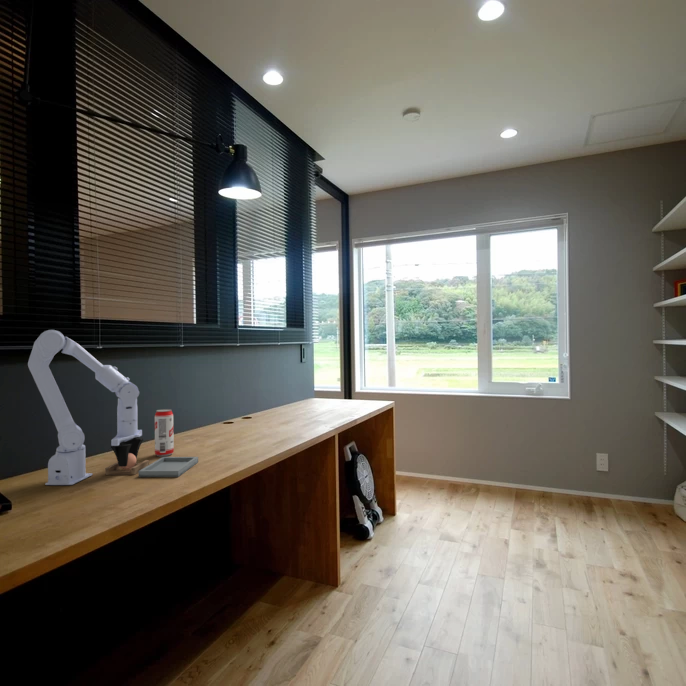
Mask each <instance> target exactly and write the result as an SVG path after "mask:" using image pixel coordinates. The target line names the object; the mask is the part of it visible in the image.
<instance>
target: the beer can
mask: <svg viewBox="0 0 686 686" xmlns="http://www.w3.org/2000/svg"><path fill="white" fill-rule="evenodd" d="M155 411H156V412H155V415H154V454H155V455H156V457H160V458H162V457H170V456H171V455H172V454H173V453H174V452H175V448H174V447H175V442H174V441H175V440H174V439H175V438H174V413H173V411H172V409H171V408H170V409H169V408H165V409H162V408H161V409H157V410H155Z"/></svg>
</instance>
